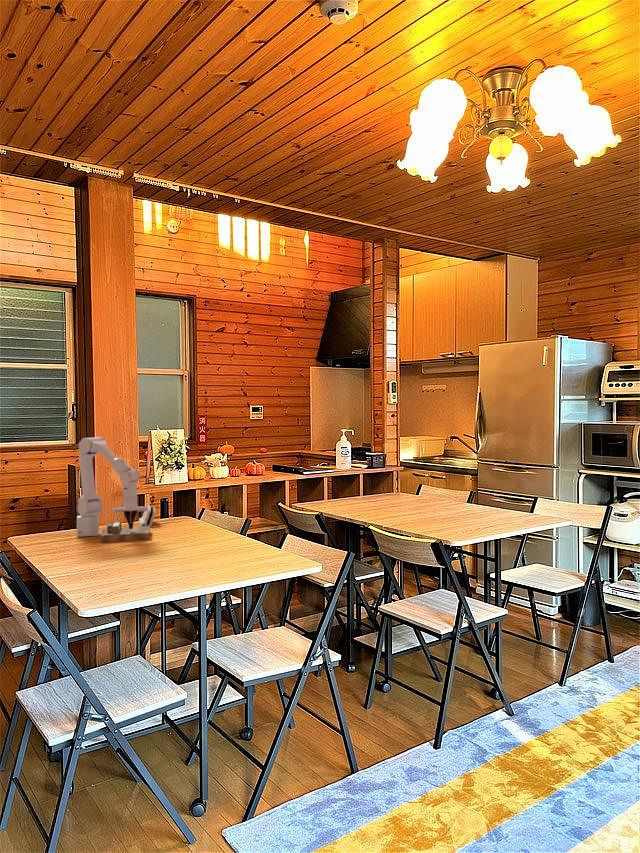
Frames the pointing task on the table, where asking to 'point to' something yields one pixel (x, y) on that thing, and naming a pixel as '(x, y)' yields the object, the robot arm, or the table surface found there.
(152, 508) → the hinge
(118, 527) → the folding leg
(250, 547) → the table surface
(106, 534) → the grey flat base
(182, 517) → the table surface
